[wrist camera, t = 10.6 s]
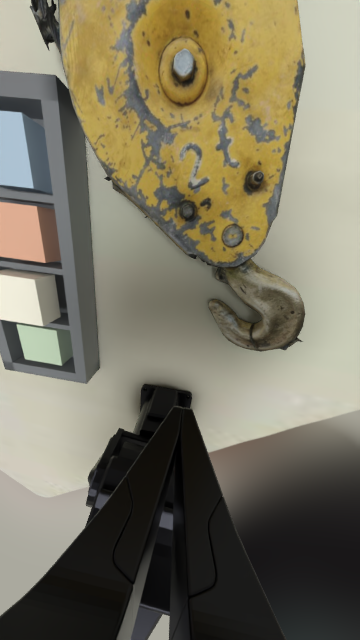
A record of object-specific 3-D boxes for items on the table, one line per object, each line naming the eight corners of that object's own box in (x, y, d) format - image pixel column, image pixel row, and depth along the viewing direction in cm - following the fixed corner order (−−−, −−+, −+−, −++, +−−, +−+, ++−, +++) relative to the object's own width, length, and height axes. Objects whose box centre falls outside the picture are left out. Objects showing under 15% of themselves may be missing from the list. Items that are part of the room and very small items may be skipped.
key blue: (55, 194, 17) (33, 188, 15) (9, 189, 18) (-19, 182, 15) (47, 130, 15) (21, 112, 13) (-4, 125, 16) (-38, 107, 14)
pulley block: (196, 398, 17) (-82, -181, 7) (191, 362, 22) (26, 2, 13) (363, 340, 15) (277, -478, 6) (313, 317, 21) (228, -128, 11)
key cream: (60, 316, 20) (43, 326, 18) (21, 310, 21) (-1, 319, 18) (54, 274, 19) (34, 279, 16) (11, 268, 19) (-14, 272, 17)
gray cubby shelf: (99, 367, 25) (86, 383, 22) (26, 355, 26) (5, 369, 23) (82, 104, 15) (55, 75, 12) (-37, 94, 16) (-88, 64, 13)
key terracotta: (63, 259, 19) (45, 262, 17) (22, 254, 20) (-1, 256, 18) (57, 210, 18) (36, 206, 16) (12, 204, 18) (-15, 200, 16)
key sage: (74, 353, 24) (61, 365, 22) (41, 348, 24) (24, 359, 22) (70, 321, 22) (56, 330, 20) (34, 315, 22) (16, 324, 20)
